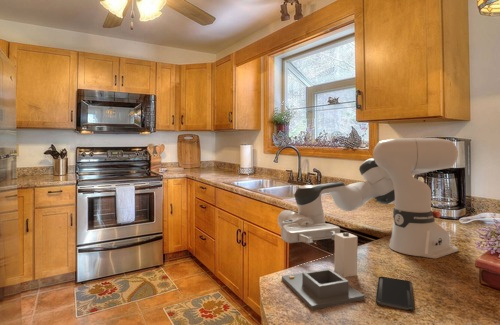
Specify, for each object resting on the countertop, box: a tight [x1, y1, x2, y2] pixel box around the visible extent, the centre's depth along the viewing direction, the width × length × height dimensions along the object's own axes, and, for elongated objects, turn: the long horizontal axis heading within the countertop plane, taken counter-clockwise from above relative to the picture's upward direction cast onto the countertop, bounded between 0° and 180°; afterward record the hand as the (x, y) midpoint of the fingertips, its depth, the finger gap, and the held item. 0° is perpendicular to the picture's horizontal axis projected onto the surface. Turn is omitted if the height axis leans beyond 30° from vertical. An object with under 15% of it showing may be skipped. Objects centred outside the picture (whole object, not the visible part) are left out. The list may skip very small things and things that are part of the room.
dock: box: [281, 267, 366, 311], centre depth 75 cm, size 14×16×4 cm
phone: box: [375, 276, 415, 313], centre depth 72 cm, size 8×1×15 cm
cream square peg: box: [333, 232, 359, 278], centre depth 84 cm, size 4×4×12 cm
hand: (323, 239), depth 95 cm, fingers open, 8 cm apart
